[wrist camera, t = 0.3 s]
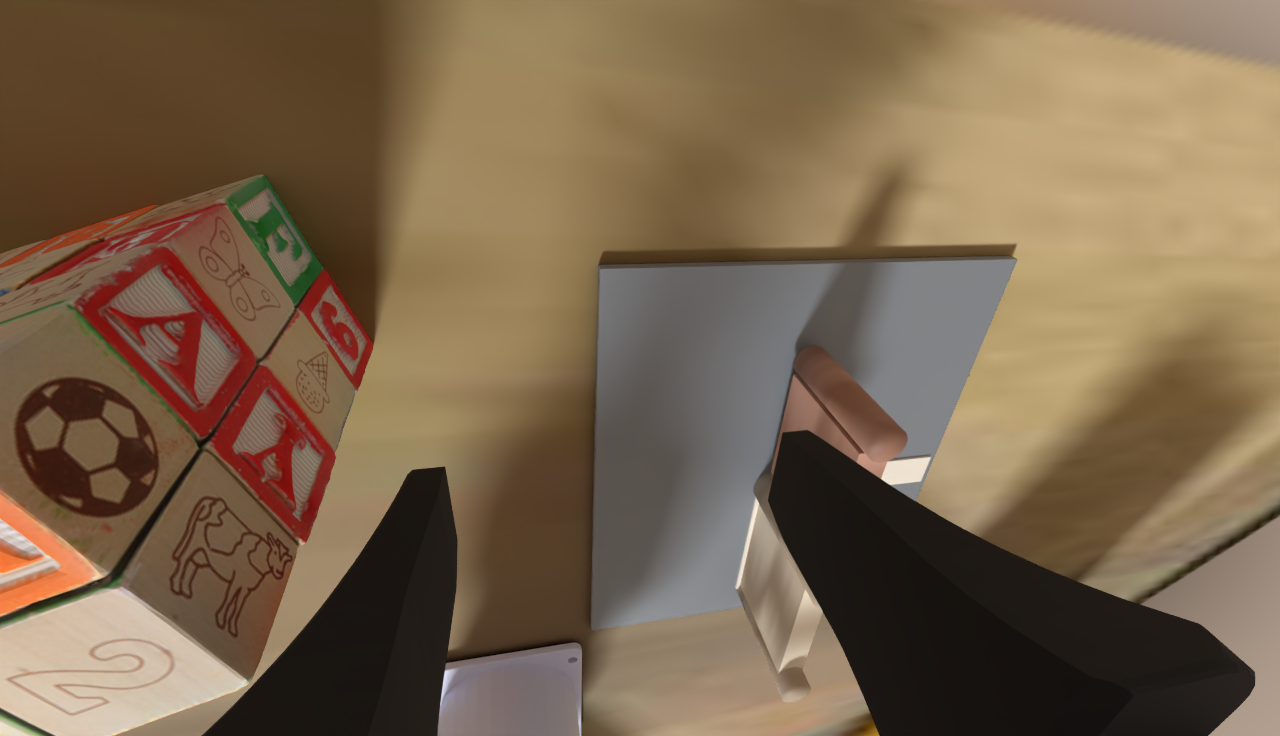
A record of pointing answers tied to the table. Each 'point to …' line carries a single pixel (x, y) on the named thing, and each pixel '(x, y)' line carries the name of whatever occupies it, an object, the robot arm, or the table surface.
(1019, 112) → the table surface
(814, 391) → the hinged fence panel
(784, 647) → the fence frame
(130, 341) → the stack of blocks
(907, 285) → the card
